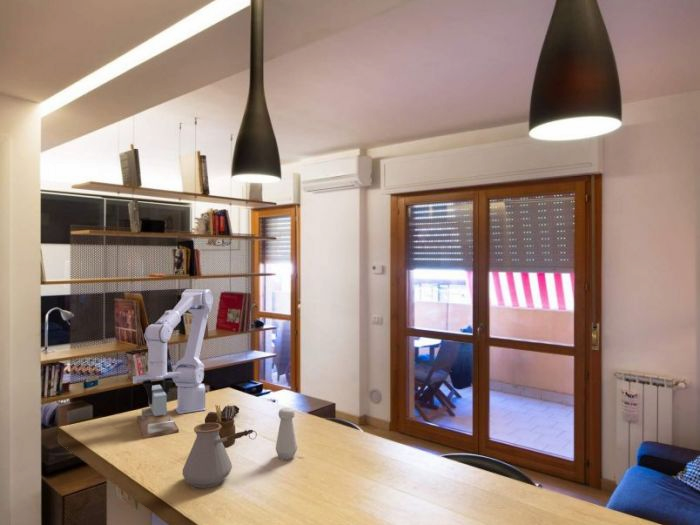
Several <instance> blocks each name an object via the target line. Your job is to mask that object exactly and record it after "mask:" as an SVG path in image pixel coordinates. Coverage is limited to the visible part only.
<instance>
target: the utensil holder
mask: <svg viewBox="0 0 700 525" xmlns="http://www.w3.org/2000/svg"><path fill="white" fill-rule="evenodd" d="M220 406H221V405H217V404H215V406H214V407H215V412H217V415H218V416H219V419H217V420H216V423H218V424H220V425H221V426H222V427H221V429H220V431H219V436H220V438H221V439H222V438H225V437H228V436H230V435H233V434H235V433H236V425H235V417H234V418H232V416H233V415H232V414H231V415H232V416H231V417H222V418H220V416H221V411H222V410H221V407H220ZM226 406H227V407H228V406H230V408H231V406H233V404H231V403H229V404H228V405H226ZM227 409H228V408H227ZM232 410H233V408H232ZM229 411H230V409H229ZM232 413H234V412H232ZM225 414H226V415H227V412H225ZM229 415H230V414H229ZM222 443H223V445H224V447H225V446H226V447H230V445H231V446H233V445H234V444H235V443H236V439H232V440H227V441H224V442H222Z"/></svg>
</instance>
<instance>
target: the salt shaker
mask: <svg viewBox="0 0 700 525" xmlns="http://www.w3.org/2000/svg"><path fill="white" fill-rule="evenodd" d="M278 417H279V419H280V421H279V426H278V432H277V438H276V442H275V443H276V444H275V452H276V454H277V456H278V458H279V459H280V460H281V459H285V460H284V461H289V460H291V459H294V456H295V455H296V453H297V451H298V443H297V438H296V434H295V426H294V423H293V419H294V418H295V410H294V409H293V408H292V407H283V408H280V409H279V411H278ZM288 459H289V460H288Z"/></svg>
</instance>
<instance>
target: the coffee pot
mask: <svg viewBox="0 0 700 525" xmlns="http://www.w3.org/2000/svg"><path fill="white" fill-rule="evenodd" d="M221 427H222V426H221V425H220V424H218V423H205V422H204V423H200V424H197V425H196V426H194V428H193V430H194V433H195V434H196V437H195V440H194V442H193V445H192V447H191V449H190V452H189V454H188V455H187V458H186V461H185V463H184V465H183V468H182V476H183V479H185V480H186V482H188V483H189V484H190V485H191V486H193V487H196V488H200V489H201V488H211V487H214V486H217V484H218V485H219V483H220V484H221V483H222V482H224V480H225V479H227V477H229V474H230V472H231V471H232V468H233V464H232V461H231V459H230V456H229V455H228V453H227V451H226V448H225V447H224V445H223V443H222V442H224V441H227V440H232V439H235V440H236V439H241V438H243V437H247V436H248V438H249V439H251V440H255V439H256V438H257V437H258V436H257V432H256V430H254V429H248V430H247V429H245V430H244V431H239V432H235V434H233V435H230V436H228V437H225V438H222V439H221V438H220V436H219V431H220V429H221ZM253 433H255V437H254V438H251V436H250V435H251V434H253Z"/></svg>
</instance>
